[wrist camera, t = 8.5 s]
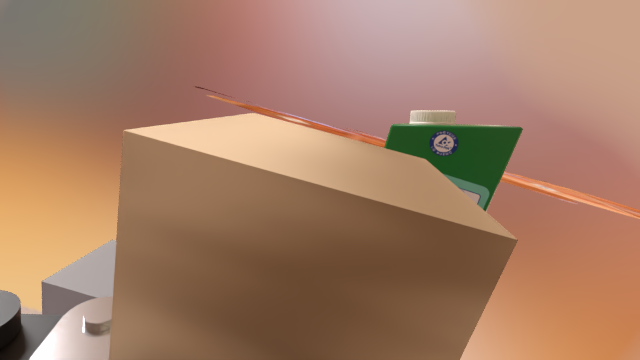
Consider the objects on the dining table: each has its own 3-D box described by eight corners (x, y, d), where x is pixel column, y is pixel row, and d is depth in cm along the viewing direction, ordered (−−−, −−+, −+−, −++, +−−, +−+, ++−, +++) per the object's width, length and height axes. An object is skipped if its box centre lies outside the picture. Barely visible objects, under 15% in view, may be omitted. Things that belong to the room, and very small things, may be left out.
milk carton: (348, 293, 39) (411, 101, 32) (417, 326, 37) (502, 124, 30) (323, 339, 31) (400, 95, 24) (409, 386, 28) (524, 126, 21)
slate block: (44, 427, 19) (41, 281, 16) (105, 362, 24) (112, 239, 20) (116, 449, 19) (127, 306, 16) (163, 380, 23) (179, 259, 20)
